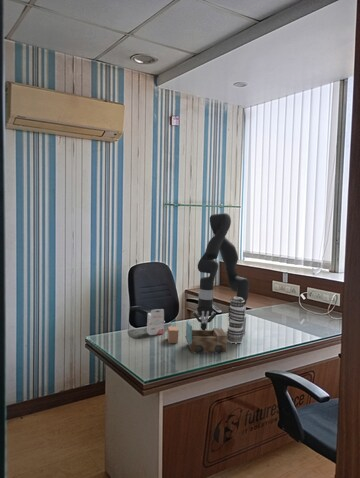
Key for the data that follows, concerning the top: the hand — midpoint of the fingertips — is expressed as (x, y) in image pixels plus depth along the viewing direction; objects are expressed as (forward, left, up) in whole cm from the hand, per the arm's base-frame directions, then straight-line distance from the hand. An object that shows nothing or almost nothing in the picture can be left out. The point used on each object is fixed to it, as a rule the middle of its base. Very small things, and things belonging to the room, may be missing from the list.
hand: (203, 329), depth 211 cm
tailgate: (+8, 0, -6) cm, 10 cm away
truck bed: (-2, 0, -10) cm, 10 cm away
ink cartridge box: (+24, -23, -10) cm, 34 cm away
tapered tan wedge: (+15, -11, -10) cm, 21 cm away
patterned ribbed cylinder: (-20, -11, -10) cm, 25 cm away
